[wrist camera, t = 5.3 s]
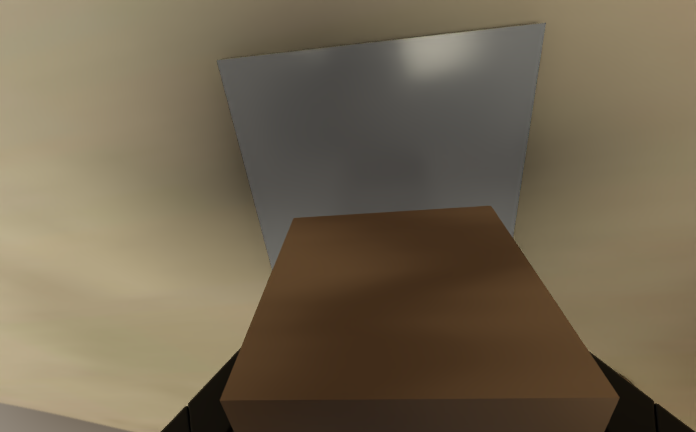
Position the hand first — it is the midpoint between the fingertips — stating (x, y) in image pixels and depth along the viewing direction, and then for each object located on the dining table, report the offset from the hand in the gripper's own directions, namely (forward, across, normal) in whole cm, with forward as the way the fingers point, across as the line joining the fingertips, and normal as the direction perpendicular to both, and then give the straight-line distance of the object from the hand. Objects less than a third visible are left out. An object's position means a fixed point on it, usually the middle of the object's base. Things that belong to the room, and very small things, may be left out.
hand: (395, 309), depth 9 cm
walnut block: (+1, 0, 0) cm, 1 cm away
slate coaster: (+8, 0, 0) cm, 8 cm away
